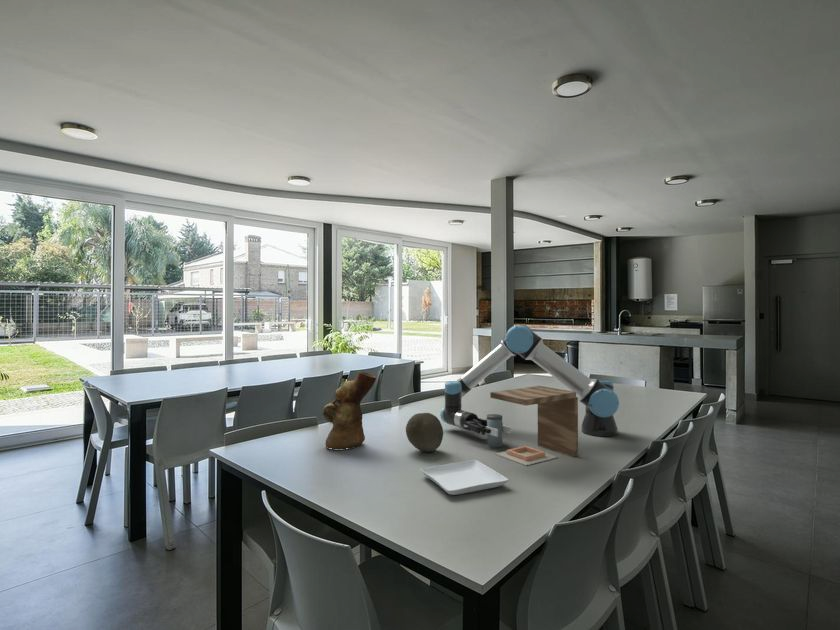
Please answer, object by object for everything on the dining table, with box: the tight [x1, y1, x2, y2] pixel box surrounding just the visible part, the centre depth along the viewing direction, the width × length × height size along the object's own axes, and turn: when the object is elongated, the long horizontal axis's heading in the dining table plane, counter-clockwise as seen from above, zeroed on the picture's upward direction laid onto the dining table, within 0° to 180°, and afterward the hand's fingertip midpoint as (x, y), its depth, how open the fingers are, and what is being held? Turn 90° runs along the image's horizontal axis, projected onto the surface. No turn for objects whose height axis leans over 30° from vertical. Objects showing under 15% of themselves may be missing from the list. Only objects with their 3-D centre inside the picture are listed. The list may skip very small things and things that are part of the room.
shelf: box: [489, 385, 579, 458], centre depth 174 cm, size 27×18×24 cm, turn 123°
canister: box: [486, 413, 503, 449], centre depth 189 cm, size 6×6×12 cm
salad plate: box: [420, 459, 509, 496], centre depth 149 cm, size 21×21×3 cm
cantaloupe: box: [405, 412, 444, 453], centre depth 181 cm, size 14×14×15 cm
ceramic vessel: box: [322, 370, 377, 449], centre depth 191 cm, size 16×22×30 cm
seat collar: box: [494, 445, 558, 467], centre depth 175 cm, size 16×16×2 cm
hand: (503, 431), depth 185 cm, fingers closed on canister, 6 cm apart
